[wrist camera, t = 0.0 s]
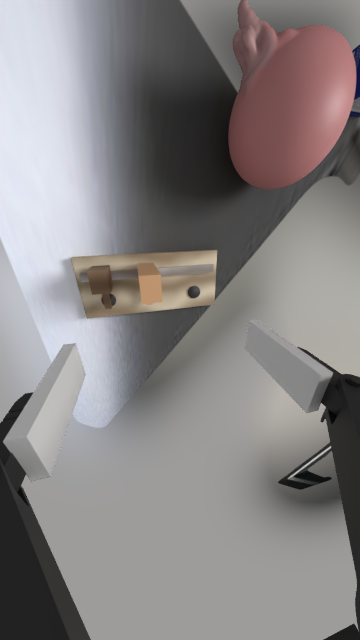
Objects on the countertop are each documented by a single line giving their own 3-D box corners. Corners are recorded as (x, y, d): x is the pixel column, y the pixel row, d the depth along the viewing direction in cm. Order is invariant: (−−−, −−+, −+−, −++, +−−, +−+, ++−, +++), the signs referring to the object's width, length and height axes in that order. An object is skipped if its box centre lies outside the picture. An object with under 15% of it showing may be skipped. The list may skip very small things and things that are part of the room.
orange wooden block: (137, 263, 36) (138, 276, 25) (152, 262, 36) (160, 274, 26) (141, 302, 39) (144, 328, 28) (156, 301, 40) (164, 326, 29)
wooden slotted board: (73, 256, 35) (59, 262, 28) (214, 249, 40) (229, 252, 34) (88, 315, 40) (79, 331, 34) (211, 302, 45) (224, 313, 39)
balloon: (250, 17, 27) (366, -198, 14) (303, 151, 36) (406, 103, 22) (176, 110, 30) (213, 6, 16) (244, 214, 38) (304, 205, 25)
